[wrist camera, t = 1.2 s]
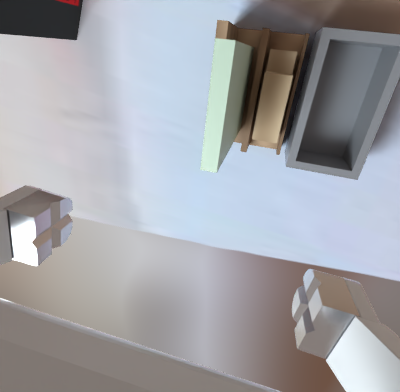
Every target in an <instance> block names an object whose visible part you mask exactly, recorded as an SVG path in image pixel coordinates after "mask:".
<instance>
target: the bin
mask: <svg viewBox="0 0 400 392" xmlns="http://www.w3.org/2000/svg"><path fill="white" fill-rule="evenodd" d="M399 78H400V34H390V33H379V32H369V31H358V30H348V29H338V28H327V27H323V28H321V29H320V30H319V31H317V32H316V34H315V38H314V42H313V46H312V50H311V53H310V57H309V61H308V65H307V69H306V73H305V76H304V80H303V84H302V88H301V92H300V96H299V100H298V103H297V107H296V111H295V115H294V119H293V123H292V126H291V130H290V134H289V138H288V142H287V146H286V149H285V159H286V167H291V168H296V169H301V170H307V171H312V172H318V173H323V174H328V175H334V176H339V177H345V178H350V179H355V180H358V177H359V175H360V173H361V170H362V168H363V165H364V163H365V160H366V158H367V156H368V153H369V151H370V148H371V146H372V143H373V141H374V138H375V136H376V134H377V131H378V129H379V126H380V124H381V121H382V119H383V117H384V114H385V112H386V109H387V107H388V104H389V102H390V100H391V97H392V95H393V92H394V90H395V87H396V85H397V83H398V80H399Z"/></svg>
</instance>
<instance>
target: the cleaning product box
mask: <svg viewBox="0 0 400 392" xmlns="http://www.w3.org/2000/svg"><path fill="white" fill-rule="evenodd" d="M82 2H83V0H0V34H10V35H22V36H34V37H46V38H58V39H69V40H77V34H78V28H79V21H80V15H81V8H82Z"/></svg>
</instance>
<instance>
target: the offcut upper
mask: <svg viewBox="0 0 400 392" xmlns="http://www.w3.org/2000/svg"><path fill="white" fill-rule="evenodd" d="M292 78H293V75H292V74H284V73H276V72H268V71H266V72H265V75H264V80H263V85H262V90H261V95H260V100H259V105H258V111H257V116H256V121H255V126H254V131H253V136H252V139H254V140H259V141H265V142H271V143H277V140H278V136H279V132H280V128H281V124H282V120H283V116H284V111H285V107H286V103H287V99H288V95H289V91H290V87H291V82H292Z"/></svg>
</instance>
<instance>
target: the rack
mask: <svg viewBox="0 0 400 392" xmlns="http://www.w3.org/2000/svg"><path fill="white" fill-rule="evenodd" d="M309 35H310V34H308V33H306V34H305V35H302V34H292V33H282V32H272V31H270V29H269V28H263V30H253V29H243V28H238V27H236V26H235V25H233V24H232V23H230V22H229V21H222V20H217V28H216V37H215V38H218V39H227V40H236V41H239V42H241V43H244V44H246V45H249V46H252V47H254V53H253V59H252V65H251V70H250V76H249V82H248V88H247V94H246V99H245V105H244V111H243V117H242V122H241V128H240V131H239V133H238V135H237V137H236V138H235V140H234V142H238V143H242V146H241V151H242V152H246V151H247V148H248V146H249V145H255V146H261V147H266V148H272V149H277V152H276V154H277V155H279V154H280V150H281V146H282V142H283V138H284V134H285V130H286V126H287V122H288V118H289V114H290V110H291V106H292V102H293V98H294V94H295V90H296V86H297V82H298V78H299V74H300V70H301V66H302V62H303V58H304V55H305V51H306V47H307V43H308V39H309ZM270 49H277V50H285V51H294V52H297V56H296V60H295V64H294V69H293V73H292V75H293V78H292V82H291V87H290V91H289V95H288V99H287V103H286V107H285V111H284V116H283V120H282V124H281V128H280V132H279V136H278V140H277V143H271V142H265V141H259V140H254V139H252V136H253V131H254V126H255V121H256V116H257V111H258V105H259V100H260V95H261V90H262V85H263V80H264V75H265V72H266V69H267V64H268V59H269V54H270Z"/></svg>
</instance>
